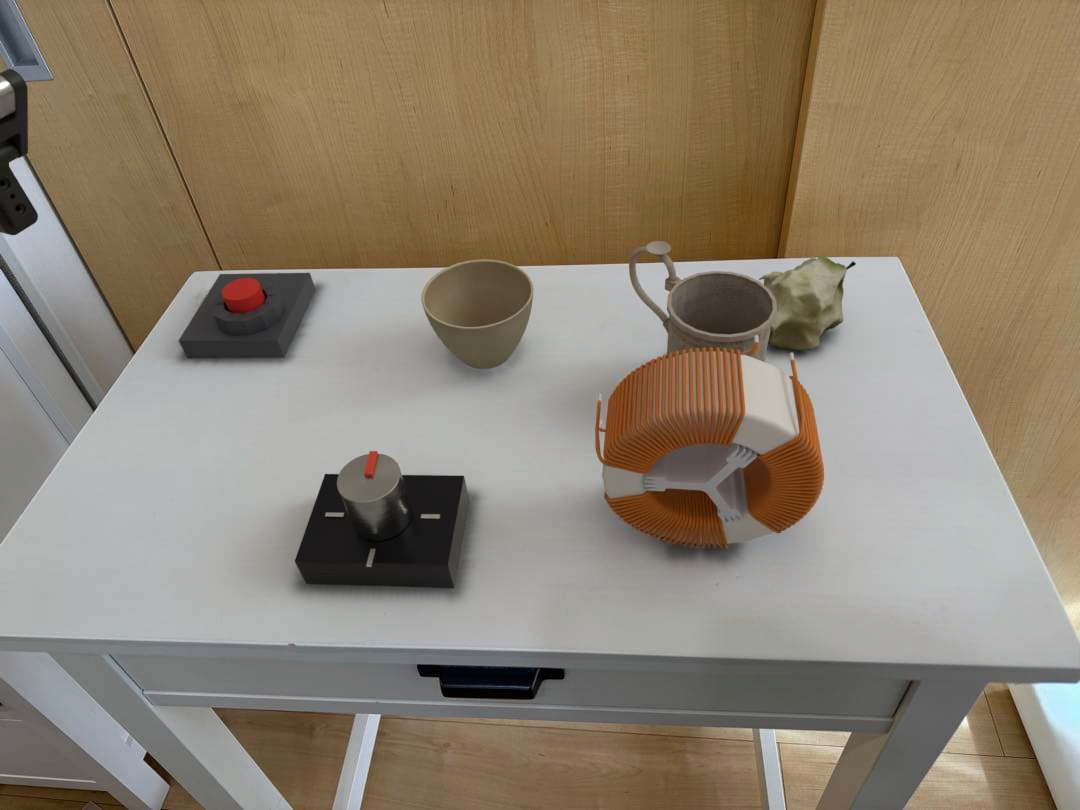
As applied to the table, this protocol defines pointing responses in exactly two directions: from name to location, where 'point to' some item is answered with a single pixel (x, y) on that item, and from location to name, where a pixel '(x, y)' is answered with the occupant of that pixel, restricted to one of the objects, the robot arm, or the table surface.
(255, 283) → the button
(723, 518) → the coil
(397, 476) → the timer knob
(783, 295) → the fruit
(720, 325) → the mug
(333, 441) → the table surface
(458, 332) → the bowl
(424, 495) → the timer panel
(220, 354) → the button block
